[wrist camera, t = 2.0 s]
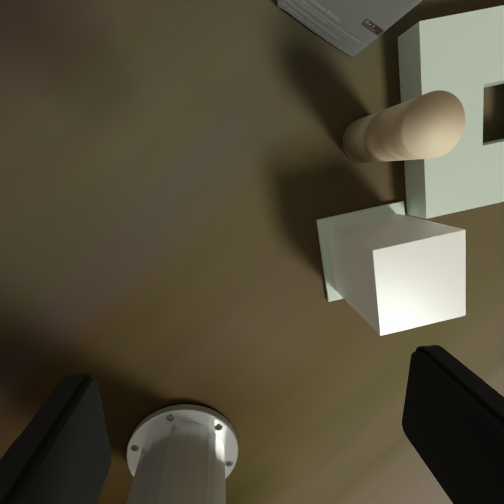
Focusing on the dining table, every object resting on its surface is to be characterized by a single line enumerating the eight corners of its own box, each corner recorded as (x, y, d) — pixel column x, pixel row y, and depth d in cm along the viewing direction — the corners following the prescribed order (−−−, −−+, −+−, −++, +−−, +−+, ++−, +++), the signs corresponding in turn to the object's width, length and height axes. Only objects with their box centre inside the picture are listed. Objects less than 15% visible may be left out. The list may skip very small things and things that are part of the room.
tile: (406, 281, 33) (427, 294, 30) (327, 300, 32) (339, 314, 29) (401, 200, 30) (423, 204, 27) (316, 219, 30) (327, 225, 27)
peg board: (551, 182, 32) (584, 183, 29) (407, 214, 31) (426, 218, 28) (564, 5, 27) (605, -15, 24) (397, 37, 26) (419, 21, 24)
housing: (399, 276, 32) (465, 315, 23) (336, 291, 32) (380, 335, 23) (395, 213, 30) (465, 229, 22) (328, 227, 30) (372, 250, 21)
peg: (384, 158, 29) (465, 151, 19) (344, 166, 29) (406, 164, 19) (380, 114, 28) (465, 84, 18) (339, 122, 28) (403, 96, 18)
